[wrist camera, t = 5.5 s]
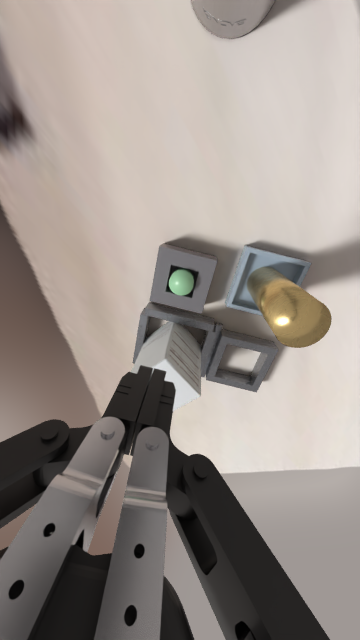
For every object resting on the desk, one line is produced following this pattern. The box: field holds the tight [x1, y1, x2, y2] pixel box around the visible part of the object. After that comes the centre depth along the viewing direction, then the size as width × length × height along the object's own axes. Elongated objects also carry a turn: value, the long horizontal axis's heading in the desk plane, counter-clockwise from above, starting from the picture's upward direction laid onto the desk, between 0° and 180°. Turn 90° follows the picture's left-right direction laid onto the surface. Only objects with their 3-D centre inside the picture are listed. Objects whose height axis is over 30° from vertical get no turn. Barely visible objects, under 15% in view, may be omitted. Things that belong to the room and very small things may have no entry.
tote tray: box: [225, 245, 311, 316], centre depth 32 cm, size 9×9×2 cm
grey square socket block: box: [150, 243, 217, 314], centre depth 32 cm, size 8×8×4 cm
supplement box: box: [131, 321, 201, 411], centre depth 34 cm, size 7×7×13 cm
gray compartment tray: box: [133, 303, 278, 392], centre depth 38 cm, size 12×23×2 cm, turn 77°
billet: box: [247, 267, 331, 348], centre depth 27 cm, size 5×5×14 cm
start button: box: [169, 267, 194, 296], centre depth 31 cm, size 3×3×3 cm
